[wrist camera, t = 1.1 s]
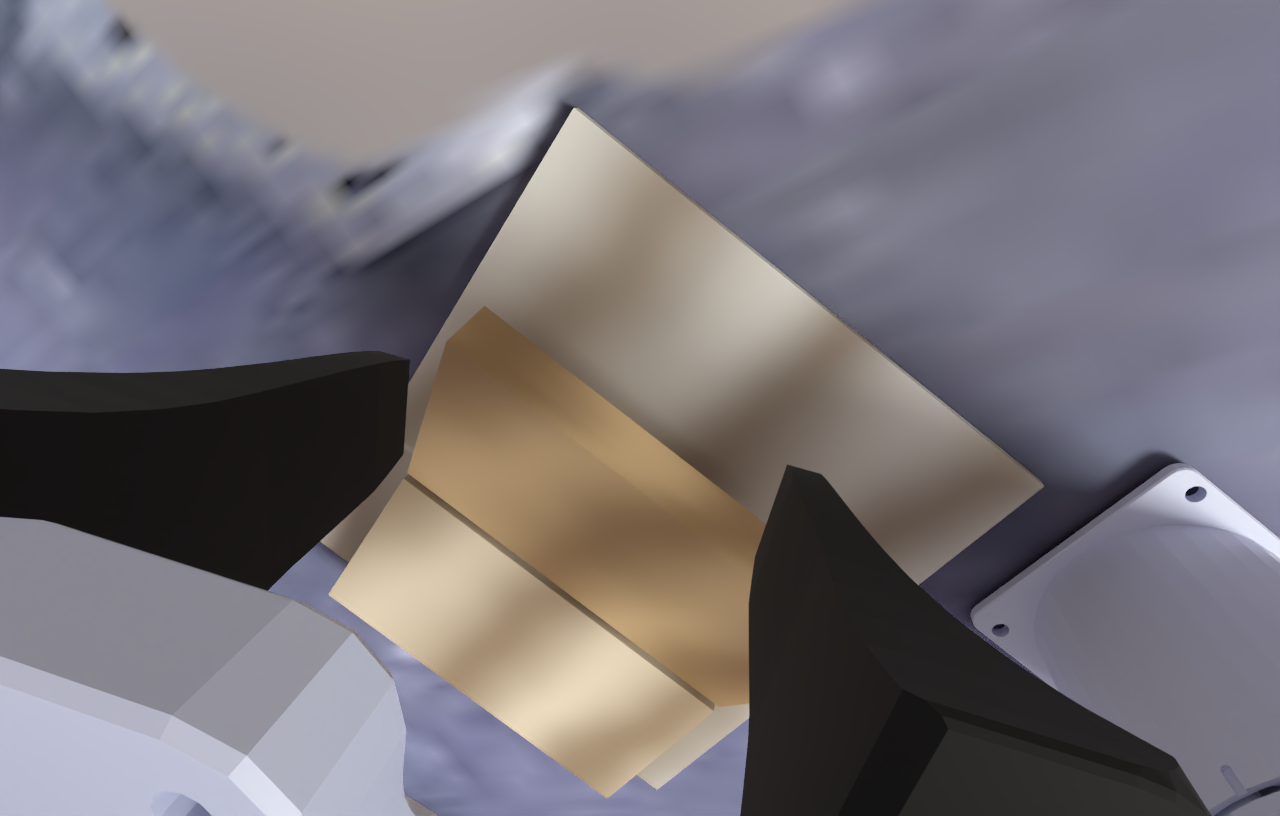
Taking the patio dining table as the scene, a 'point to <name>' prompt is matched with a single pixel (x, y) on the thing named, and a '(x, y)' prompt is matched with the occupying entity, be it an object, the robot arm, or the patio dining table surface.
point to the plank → (592, 503)
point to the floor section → (681, 420)
